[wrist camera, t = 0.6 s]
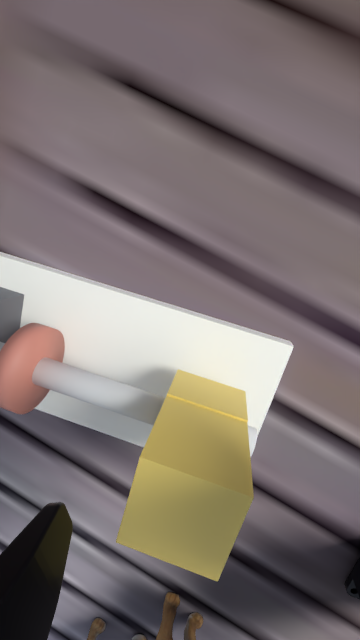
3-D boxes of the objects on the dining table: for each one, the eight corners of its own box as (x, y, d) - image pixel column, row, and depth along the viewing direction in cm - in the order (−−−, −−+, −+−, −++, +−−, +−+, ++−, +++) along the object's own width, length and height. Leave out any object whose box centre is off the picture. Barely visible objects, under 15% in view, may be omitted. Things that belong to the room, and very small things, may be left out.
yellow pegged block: (245, 391, 17) (254, 495, 10) (222, 451, 18) (216, 583, 11) (177, 369, 18) (140, 454, 10) (159, 429, 19) (115, 544, 12)
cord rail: (290, 341, 19) (330, 407, 11) (239, 470, 22) (242, 595, 14) (-30, 242, 21) (-183, 241, 13) (-40, 372, 24) (-172, 434, 16)
